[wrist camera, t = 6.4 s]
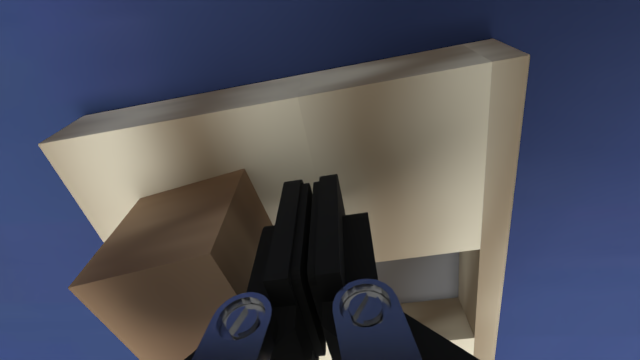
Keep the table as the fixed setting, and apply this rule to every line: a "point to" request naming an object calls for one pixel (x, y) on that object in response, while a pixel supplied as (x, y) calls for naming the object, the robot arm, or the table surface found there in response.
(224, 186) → the walnut block
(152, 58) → the table surface
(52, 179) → the table surface
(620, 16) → the table surface
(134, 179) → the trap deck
